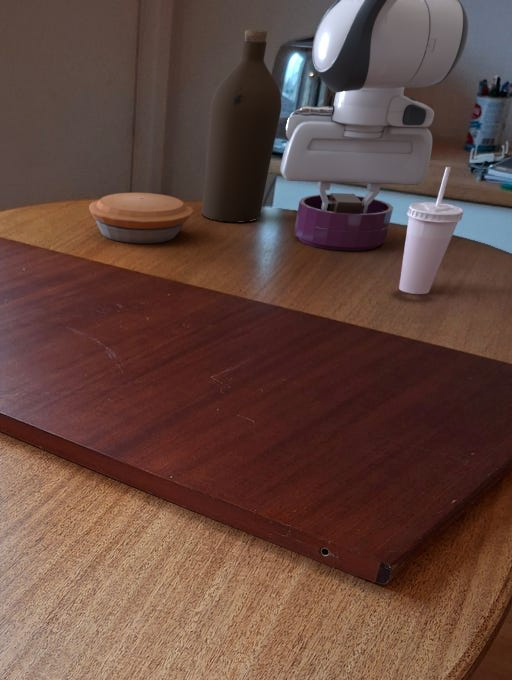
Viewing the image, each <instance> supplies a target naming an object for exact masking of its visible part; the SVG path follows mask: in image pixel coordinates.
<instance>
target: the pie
mask: <svg viewBox="0 0 512 680" xmlns="http://www.w3.org/2000/svg"><path fill="white" fill-rule="evenodd" d="M88 209H89V212H90V214H91V216H92V217H93V218H94V220H95V223H96V225H97V227H98V229H99V231H100V233H101V234H102V236H104V237H105V238H107V239H110V240H112V241H116V242H120V243H128V244H139V245H140V244H141V245H142V244H146V245H147V244H161V243H165V242H169V241H171V240H173V239H175V238H176V236H177V235H178V233H179V232H180V230H181V229H182V227H183V226H184V224H185V223H186V222H187V221H188V219H189V218H190V217H191V216H192V215H193V214H194V209H193V207H192V206H189V205H187V204H184V202H183V201H182V200H180V199H179V198H177V197H174V196H171V195H167V194H166V195H165V194H160V193H153V192H120V193H113V194H108V195H105V196H102V197H101V198H99V199H98V200H95V201H92V202H91V203H90V204H89V205H88Z"/></svg>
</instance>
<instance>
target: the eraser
mask: <svg viewBox="0 0 512 680" xmlns="http://www.w3.org/2000/svg"><path fill="white" fill-rule="evenodd" d="M329 194H330V199H329V201H333V203H334V207H333V210H332V211H333V212H338V213H349V214H360V211H361V207H362V202H361V201H360V200H359V199H358V198H357V196H358V195H356V194H355V193H343V192H342V193H341V192H330V193H329Z"/></svg>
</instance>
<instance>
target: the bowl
mask: <svg viewBox="0 0 512 680" xmlns="http://www.w3.org/2000/svg"><path fill="white" fill-rule="evenodd" d="M326 194H327V193H326ZM330 194H331V193H328V194H327V198H328V201H329V199H330ZM356 196H357V198H358V199H359V200H360V201H361V202H362V200H363V199H364V197H365V196H361V195H356ZM298 202H299V203H298V207H297V212H296V218H295V224H294V229H293V230H294V231H293V234H294V235H295V237H297V239H298V240H299V242H301V243H303V244H305V245H308V246H311V247H315V248H318V249H324V250H331V251H332V250H333V251H340V252H342V251H343V252H358V251H361V252H362V251H368V250H373V249H376V248H378V247H379V246H380V245H382V244H384V243H385V241H386V239H387V236H388V233H389V227H390V223H391V219H392V215H393V211H394V206H393V205H391V203H389V202H386V201H384V200H381V199H377V198H374V199H373V201H372V202H371V203H370V204H369V205H368V208H367V213H366V214H349V213H338V212H331V211H325V210H321V206H322V199H321V196H320V194H314V195H308V196H305V197H301V198H300V200H299V201H298Z"/></svg>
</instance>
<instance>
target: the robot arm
mask: <svg viewBox="0 0 512 680" xmlns="http://www.w3.org/2000/svg"><path fill="white" fill-rule="evenodd" d="M468 36H469V20H468V15H467V12H466V9H465V7H464V5H463V4H462V3H461V1H460V0H334V1H333V2H332V4H331V5H330V6H329V7H328V9H327V10H326V12H325V13H324V15H323V17H322V18H321V20H320V22H319V24H318V25H317V28H316V32H315V34H314V37H313V43H312V50H311V51H312V56H311V58H312V63H313V66H314V70H315V71H316V73H317V75H318V77H319V78H320V79H321V81H322V82H323V84H324V85H325V86H326V88H328V89H329V90H330V91H331V92H333V93H335V94H334V100H333V105H332V106H331V105H329V106H328V105H327V106H326V105H320V106H319V105H318V106H311V105H301V106H300V108H298V109H295V110H294V111H292V112H291V113H290V115H289V116H288V118H287V121H286V126H285V138H286V144H285V147H284V151H283V154H282V158H281V163H280V168H279V169H280V174H281V175H282V177H283V179H285V180H286V181H287V182H289V181H290V182H317V190H318V193H319V195H320V196H321V199H322V206H321V210H325V211H331V212H333V211H332V210H333V207H334V203H333V201H328V198H327V191H330V190H331V185H332V183H340V184H341V183H344V184H367V185H366V189H367V190H368V192H367V193H366V194H365V196H363V197H364V199H363V200H362V207H361V211H360V214H366V213H367V208H368V205H369V204H370V203H371V202H372V201H373V199H376V197H377V196H378V194H379V193H380V191H381V186H382V185H401V186H418V185H420V184H421V183H422V182H423V181H424V180H425V179H426V178H427V176H428V171H429V167H430V164H431V163H430V161H431V155H432V148H433V135H432V132H431V131H430V129H429V128H428V127H430V126H431V125H432V123H433V121H434V117H435V111H434V109H433V108H432V107H430V106H428V105H427V104H425V103H422V102H420V101H417V99H416V98H414V97H412V96H409V95H407V96H405V94H404V92H405V89H406V88H426V87H430V86H433V85H434V86H435V85H438V84H441V83H442V82H443V81H444V80H445V79H446V78H448V77H449V75H451V73H452V72H454V70H455V68H456V67H457V65H458V63H459V62H460V60H461V58H462V57H463V54H464V51H465V49H466V46H467V45H466V44H467V42H468V41H467V40H468Z"/></svg>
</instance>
